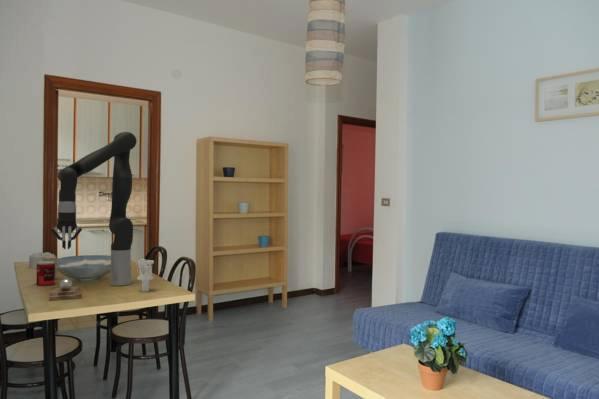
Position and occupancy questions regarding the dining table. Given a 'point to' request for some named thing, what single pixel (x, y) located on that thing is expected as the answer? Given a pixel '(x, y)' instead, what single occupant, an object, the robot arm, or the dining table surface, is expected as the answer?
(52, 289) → the wooden cutting board
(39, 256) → the lumpy-topped squat cylinder
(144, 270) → the white tall piece
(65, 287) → the ball
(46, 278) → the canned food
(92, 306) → the dining table surface
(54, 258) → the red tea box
